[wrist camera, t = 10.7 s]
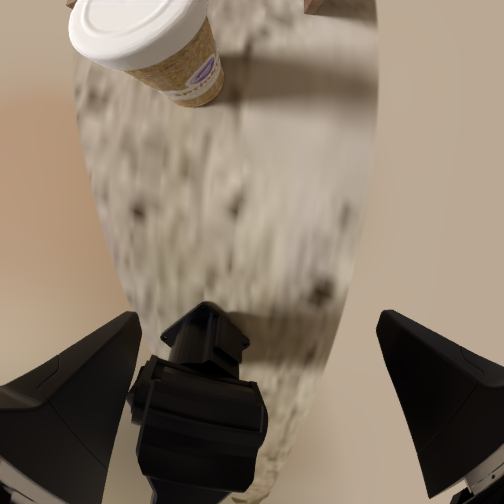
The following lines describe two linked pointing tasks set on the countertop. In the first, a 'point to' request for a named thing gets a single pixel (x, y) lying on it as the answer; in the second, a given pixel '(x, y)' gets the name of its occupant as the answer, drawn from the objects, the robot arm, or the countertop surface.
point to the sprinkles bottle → (152, 44)
